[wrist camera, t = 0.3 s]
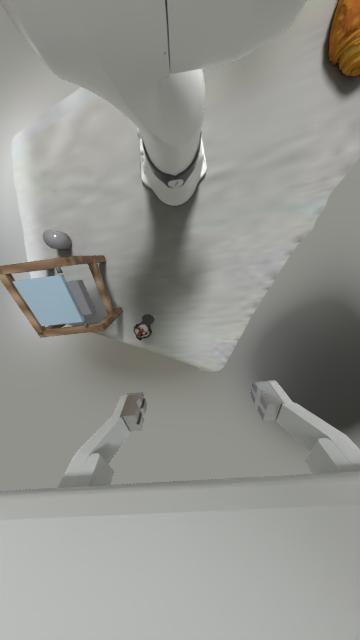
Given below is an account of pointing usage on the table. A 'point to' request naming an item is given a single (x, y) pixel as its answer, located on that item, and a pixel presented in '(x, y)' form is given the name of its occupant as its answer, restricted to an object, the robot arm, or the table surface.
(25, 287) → the trapdoor
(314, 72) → the table surface
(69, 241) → the gray cylinder
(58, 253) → the table surface
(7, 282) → the stand
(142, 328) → the sundae
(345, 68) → the croissant
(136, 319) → the table surface
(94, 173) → the table surface
